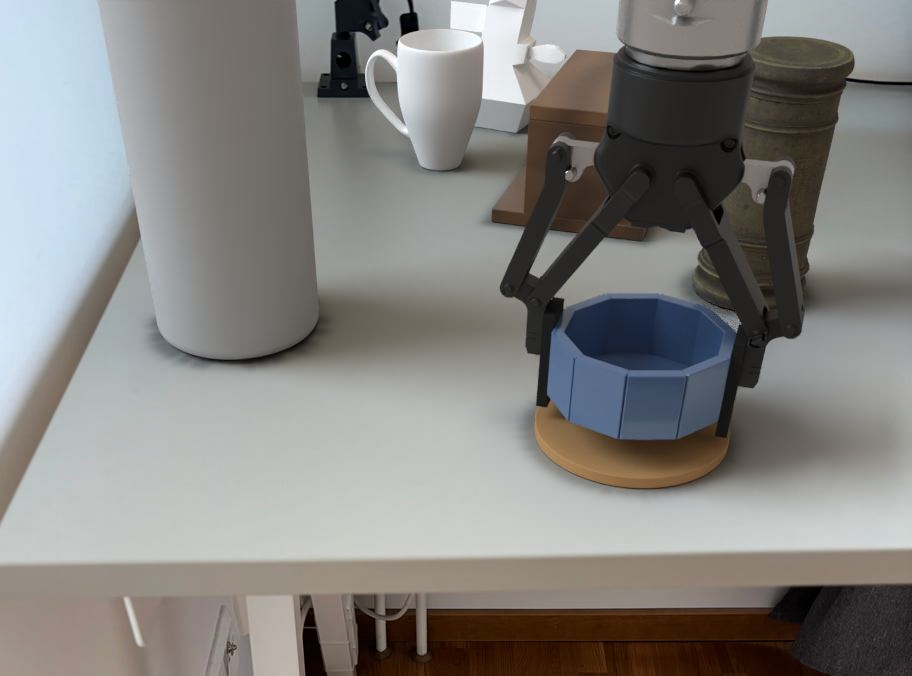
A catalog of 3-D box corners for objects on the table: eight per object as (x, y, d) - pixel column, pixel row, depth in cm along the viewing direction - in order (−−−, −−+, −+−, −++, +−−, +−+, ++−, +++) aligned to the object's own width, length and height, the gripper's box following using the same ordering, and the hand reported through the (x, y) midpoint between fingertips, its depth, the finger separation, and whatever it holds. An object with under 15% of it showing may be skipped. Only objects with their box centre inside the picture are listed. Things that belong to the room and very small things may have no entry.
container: (823, 289, 90) (884, 49, 78) (764, 325, 85) (820, 75, 73) (730, 257, 95) (775, 26, 82) (669, 289, 90) (707, 49, 78)
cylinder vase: (308, 366, 80) (275, -22, 63) (141, 362, 81) (64, -24, 64) (329, 291, 90) (304, -65, 73) (179, 288, 90) (120, -67, 73)
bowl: (731, 371, 75) (744, 304, 71) (708, 460, 66) (722, 390, 63) (571, 346, 77) (577, 282, 74) (530, 430, 69) (535, 361, 66)
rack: (673, 172, 110) (690, 59, 103) (641, 241, 97) (658, 117, 90) (539, 156, 113) (546, 46, 106) (491, 221, 100) (495, 101, 93)
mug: (491, 155, 113) (495, 33, 106) (465, 182, 108) (467, 55, 100) (384, 141, 116) (381, 21, 109) (353, 167, 111) (347, 43, 103)
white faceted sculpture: (544, 141, 116) (554, -5, 107) (427, 122, 121) (427, -20, 112) (572, 118, 122) (584, -23, 113) (459, 100, 127) (461, -36, 117)
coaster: (738, 402, 77) (740, 392, 76) (714, 504, 68) (716, 494, 67) (558, 373, 80) (559, 363, 79) (512, 467, 71) (512, 457, 70)
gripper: (452, 48, 58) (447, 409, 73) (919, 91, 52) (810, 473, 67) (491, 14, 63) (479, 358, 78) (919, 50, 58) (818, 413, 72)
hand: (632, 411), depth 72 cm, fingers closed on bowl, 11 cm apart
